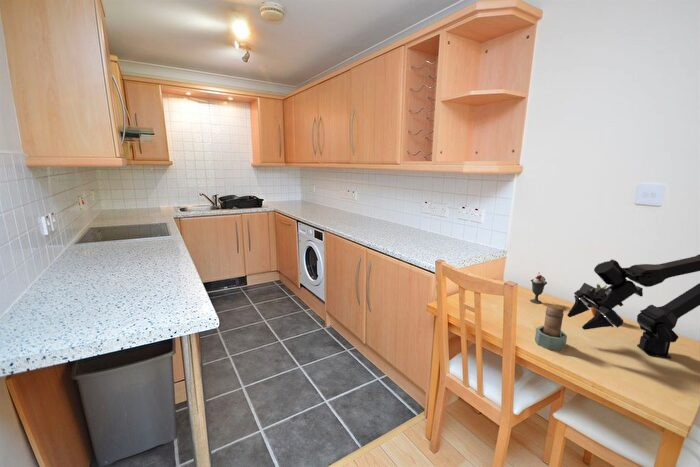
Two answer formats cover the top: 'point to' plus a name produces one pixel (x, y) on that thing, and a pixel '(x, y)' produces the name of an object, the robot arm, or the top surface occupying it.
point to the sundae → (538, 287)
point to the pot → (550, 340)
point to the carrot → (595, 305)
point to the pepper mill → (553, 321)
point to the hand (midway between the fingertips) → (575, 322)
